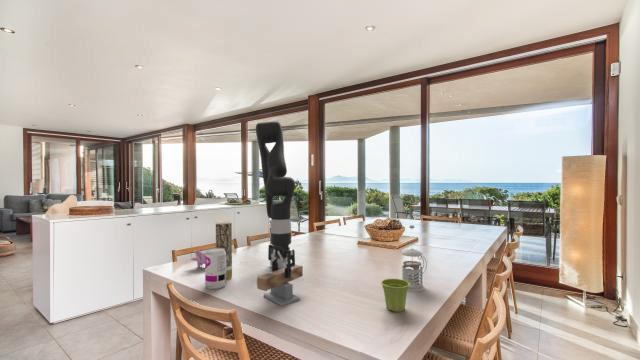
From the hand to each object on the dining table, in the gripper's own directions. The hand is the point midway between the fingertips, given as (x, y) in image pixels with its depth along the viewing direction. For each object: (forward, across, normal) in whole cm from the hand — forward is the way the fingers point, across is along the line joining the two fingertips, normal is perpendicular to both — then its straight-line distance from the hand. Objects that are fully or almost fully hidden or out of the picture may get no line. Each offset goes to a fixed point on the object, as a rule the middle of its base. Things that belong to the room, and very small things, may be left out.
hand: (281, 275), depth 117 cm
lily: (+9, +59, +7) cm, 60 cm away
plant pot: (+9, -33, -24) cm, 42 cm away
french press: (+9, -25, -47) cm, 54 cm away
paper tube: (+9, +37, +6) cm, 38 cm away
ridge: (+8, 0, 0) cm, 8 cm away
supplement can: (+9, +29, +13) cm, 33 cm away
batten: (+3, 0, 0) cm, 3 cm away
